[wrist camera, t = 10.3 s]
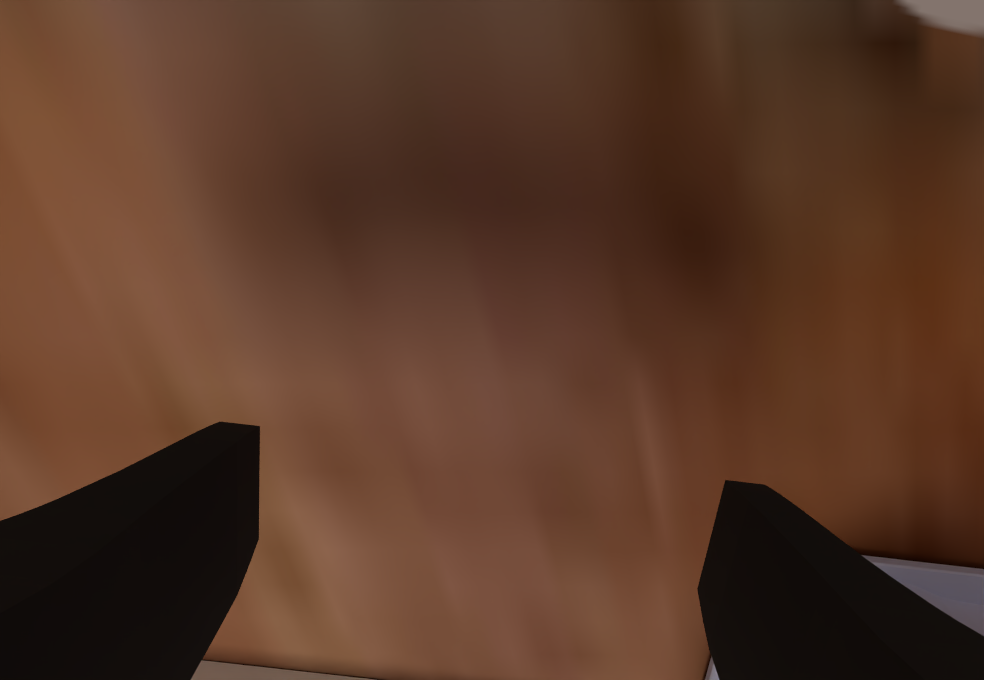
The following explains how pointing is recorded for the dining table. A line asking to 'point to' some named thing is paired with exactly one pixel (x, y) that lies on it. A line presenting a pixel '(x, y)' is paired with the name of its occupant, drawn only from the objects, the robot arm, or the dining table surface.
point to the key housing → (257, 673)
